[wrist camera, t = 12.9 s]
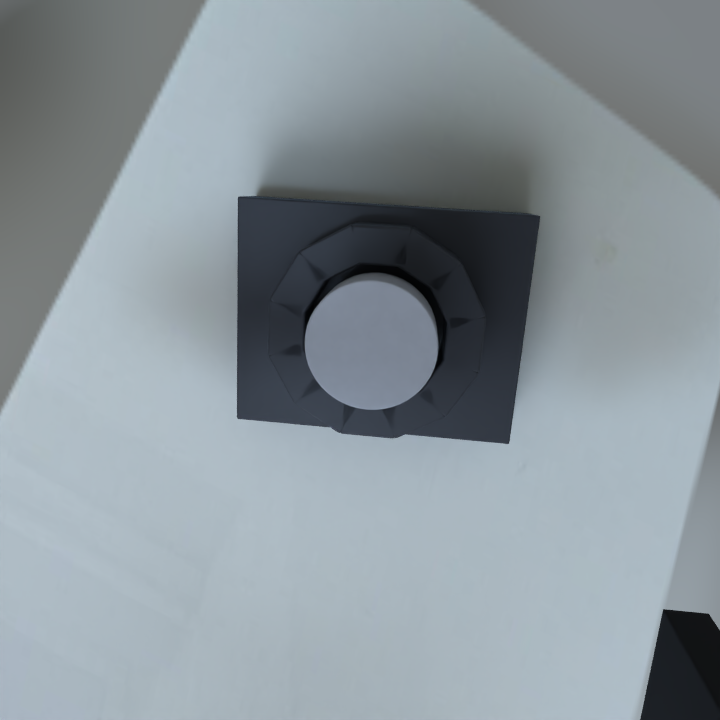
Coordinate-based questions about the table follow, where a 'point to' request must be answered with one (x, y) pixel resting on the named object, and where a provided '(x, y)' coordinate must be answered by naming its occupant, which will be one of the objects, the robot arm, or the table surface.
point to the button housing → (407, 261)
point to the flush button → (372, 341)
